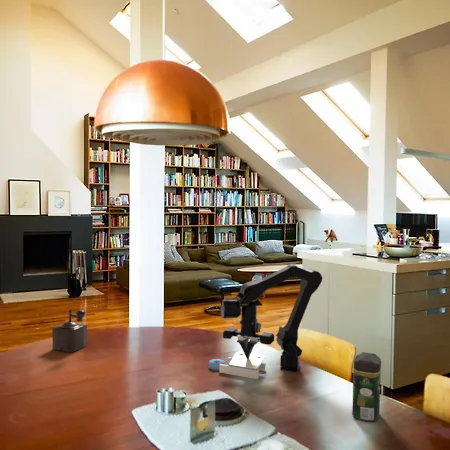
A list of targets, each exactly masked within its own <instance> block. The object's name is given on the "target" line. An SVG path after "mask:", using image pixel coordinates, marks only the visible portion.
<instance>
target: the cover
mask: <svg viewBox="0 0 450 450" xmlns="http://www.w3.org/2000/svg"><path fill="white" fill-rule="evenodd" d="M265 357H266V356H265V355H261V354H254V353H251V355H250V358H249V359H247V358H246V356H245V354H244V351H243V352H242V351H237V352H236V353H235V354H234V356H233V357H232V358H233V359H232V360H231V362H230V363H229V365H233V366H240V367H246V368H252V369H258V368H259V366H260V365H261V363H262V362H264V359H265Z"/></svg>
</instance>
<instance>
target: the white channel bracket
mask: <svg viewBox="0 0 450 450" xmlns="http://www.w3.org/2000/svg"><path fill="white" fill-rule="evenodd" d="M232 359H233V357H230V356H229V357H228V358H227V364H225V365H224V364H220V366H219V370H218V371H219V374H226V375H231V376H232V375H233V376H238V377H245V378H248V379H249V378H250V379H253V380H254V379H255V380H259V372H260V371H261V372H265V371H266V367H267V366H266V362H264V361H262V363H261V365H260V366H259V368H258V369H252V368H246V367H240V366H233V365H229V363H230V362H231V360H232Z"/></svg>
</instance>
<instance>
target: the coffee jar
mask: <svg viewBox="0 0 450 450" xmlns="http://www.w3.org/2000/svg"><path fill="white" fill-rule="evenodd" d="M381 374H382V360H381V358H380V357H379V356H378V355H377V354H376V353H372V352H367V351H366V352H363V351H362V352H361V353H359V354H358V353H357V355H355V357H354V360H353V374H352V376H353V379H352V409H351V411H352V412H351V414H352V416H353V417H354V418H355V419H357V420H359V419H360V420H359V421H362V420H365V421H364V422H376V421H377V420H378V419H379V418H380V409H381V408H380V407H381V404H380V403H381V379H382V376H381Z"/></svg>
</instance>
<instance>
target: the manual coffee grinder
mask: <svg viewBox="0 0 450 450" xmlns="http://www.w3.org/2000/svg"><path fill="white" fill-rule="evenodd" d="M85 316H86V311H85V310H84V309H78V310H77V311H76V312H75V314H74V313H73V309H71V308H70V309H68V321H65V322H64V323H62V324H60V325H57V326H53V327H52V347H51V349H52V350H53V351H57V352H65V353H76V352H78V351H79V350H82V349H84V348H86V347H87V345H88V325H87V324H83V323H82V322H83V321H84V317H85ZM72 317H74V318H76V319H75V321H74V320H73V321H72ZM76 321H77V322H76ZM80 322H81V323H80Z"/></svg>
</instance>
